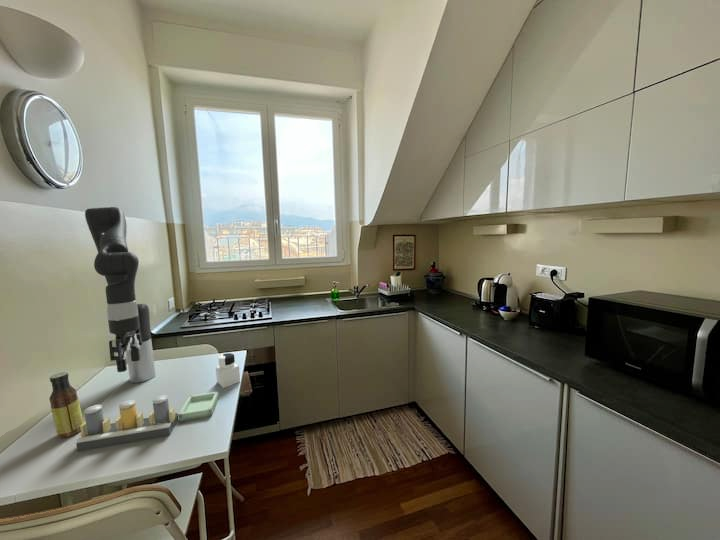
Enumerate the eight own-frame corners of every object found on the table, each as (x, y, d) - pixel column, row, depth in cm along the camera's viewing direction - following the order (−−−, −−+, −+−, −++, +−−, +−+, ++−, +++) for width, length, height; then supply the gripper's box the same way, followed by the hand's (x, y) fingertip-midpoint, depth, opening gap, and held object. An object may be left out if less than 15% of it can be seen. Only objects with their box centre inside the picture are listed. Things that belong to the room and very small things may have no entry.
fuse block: (93, 433, 94) (90, 416, 93) (179, 419, 100) (177, 403, 99) (76, 451, 86) (73, 432, 86) (170, 435, 92) (168, 417, 92)
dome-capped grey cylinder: (93, 429, 92) (89, 405, 91) (108, 427, 93) (104, 403, 92) (84, 438, 88) (80, 413, 87) (100, 435, 89) (96, 411, 88)
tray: (189, 402, 111) (189, 395, 110) (218, 397, 113) (218, 391, 113) (179, 421, 99) (178, 414, 99) (211, 416, 102) (210, 409, 101)
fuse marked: (126, 424, 94) (123, 400, 93) (140, 422, 95) (137, 398, 94) (119, 432, 91) (116, 408, 90) (134, 429, 92) (131, 405, 91)
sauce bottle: (82, 423, 100) (73, 367, 97) (86, 431, 96) (76, 372, 93) (54, 434, 95) (44, 375, 92) (57, 442, 91) (46, 381, 88)
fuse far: (158, 419, 97) (155, 396, 96) (172, 417, 98) (169, 394, 97) (153, 426, 93) (150, 403, 92) (167, 424, 94) (164, 400, 93)
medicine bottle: (233, 376, 130) (231, 350, 129) (240, 381, 125) (238, 354, 124) (216, 382, 125) (214, 355, 124) (223, 388, 120) (220, 360, 119)
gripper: (121, 312, 99) (127, 359, 100) (95, 323, 85) (102, 377, 87) (147, 310, 101) (152, 356, 102) (125, 320, 87) (131, 373, 88)
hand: (129, 365), depth 94 cm, fingers open, 8 cm apart
